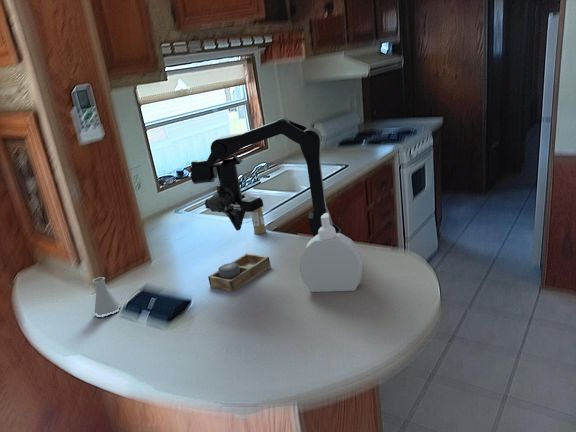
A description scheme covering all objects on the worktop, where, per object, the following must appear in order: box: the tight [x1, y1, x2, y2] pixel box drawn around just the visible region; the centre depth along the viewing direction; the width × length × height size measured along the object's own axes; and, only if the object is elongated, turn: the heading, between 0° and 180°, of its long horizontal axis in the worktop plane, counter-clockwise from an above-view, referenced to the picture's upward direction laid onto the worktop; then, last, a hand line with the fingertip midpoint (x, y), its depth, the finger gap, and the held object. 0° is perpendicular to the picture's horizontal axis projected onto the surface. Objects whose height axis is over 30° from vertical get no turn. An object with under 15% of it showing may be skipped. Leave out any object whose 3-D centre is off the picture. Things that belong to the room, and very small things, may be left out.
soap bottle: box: [299, 213, 364, 293], centre depth 122 cm, size 16×5×20 cm, turn 78°
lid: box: [217, 262, 240, 280], centre depth 136 cm, size 6×6×4 cm
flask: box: [91, 276, 120, 315], centre depth 129 cm, size 7×7×10 cm
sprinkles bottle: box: [250, 207, 267, 235], centre depth 173 cm, size 5×5×13 cm
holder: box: [207, 253, 271, 293], centre depth 139 cm, size 9×17×3 cm, turn 145°
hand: (238, 230), depth 142 cm, fingers closed
